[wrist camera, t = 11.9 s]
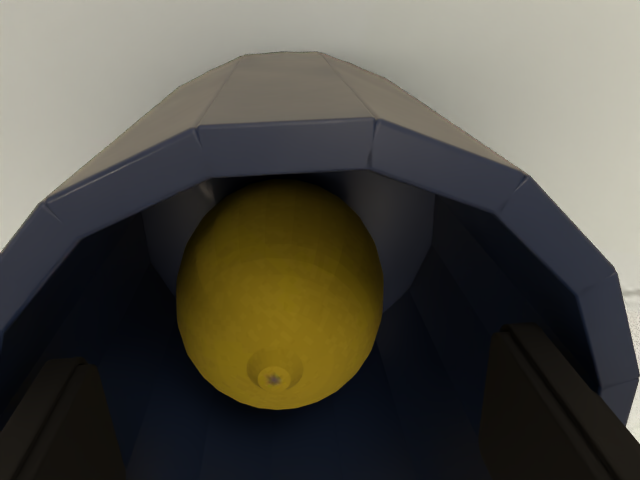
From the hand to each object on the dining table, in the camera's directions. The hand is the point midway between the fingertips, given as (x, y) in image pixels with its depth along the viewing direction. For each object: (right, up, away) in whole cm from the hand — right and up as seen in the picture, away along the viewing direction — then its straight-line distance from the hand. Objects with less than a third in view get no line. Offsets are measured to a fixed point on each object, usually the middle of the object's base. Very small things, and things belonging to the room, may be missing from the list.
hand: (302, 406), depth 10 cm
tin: (-1, +4, +9) cm, 9 cm away
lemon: (-1, +4, +8) cm, 9 cm away
